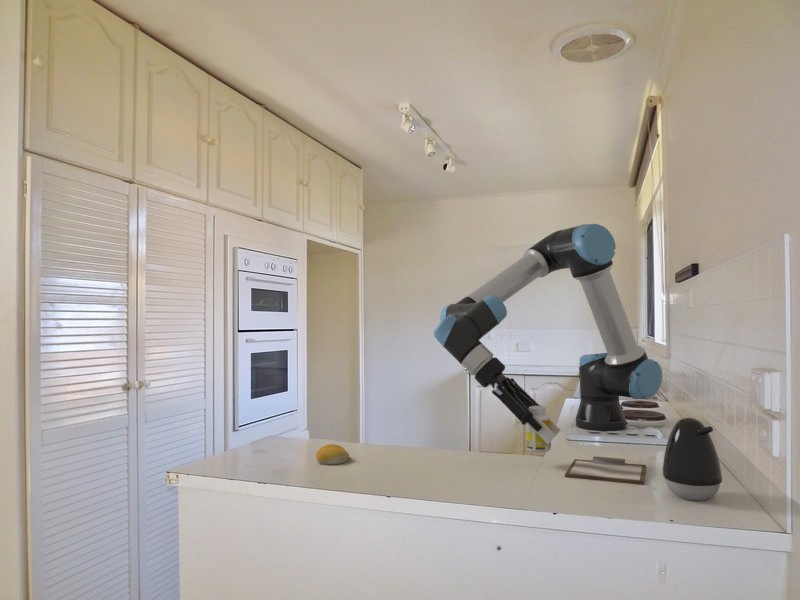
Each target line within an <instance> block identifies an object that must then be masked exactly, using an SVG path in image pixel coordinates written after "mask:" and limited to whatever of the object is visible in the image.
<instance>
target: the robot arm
mask: <svg viewBox="0 0 800 600" xmlns="http://www.w3.org/2000/svg"><path fill="white" fill-rule="evenodd" d="M616 248H617V247H616V241H615V238H614V236H613V235H612V233H611V232H610V231H609V229H607V228H606V227H605V226H603V225H600V224H598V223H589V224H587V223H586V224H585V223H583V224H580V225H577V226H573V227H568V228H564V229H560V230H556V231H554V232H552V233H550V234H549V235H547V236H545V237H543V238H542V239H541V240H539V241H538V242H536V243H535V244H533V245H532V246H531V247H529V248H528V249H526V251H525V250H524V253H523V256H522V257H521V258H519V259H518V260H517V261H515V262H514V263H512V264H511V265H510V266H508V267H506V268H505V269H504V270H502V271H500V272H499V273H498V274H496V275H495V276H494V277H492V278H491V279H489V280H487V281H486V282H485V283H484V284H481V286H479V287H478V288H477V289H475V290H473V291H472V292H471V293H469V294H468V295H466V296H465V297H464V298H462V299H460V300H459V301H457V302H456V303H451V304H448V305H446V306H444V307H443V308H442V309H441V312H440V314H439V317H440V318H439V320H440V321H439V322H438V324H436V327H435V328H434V330H433V336H434V338H435V339H436V341H438V343H439V344H440V345H441V346H442V348H444V349H445V350H446V351H447V352H448V353H449V354H450V355H452V357H453V358H454V359H455V360H456V361H457V362H458V363H459V364H460V365H461V366H462V367H463V371H465V372H468V373H469V374H470V375H471V376H474V380H476V382H477V383H478V384H479V385H480V386H481V387H482V388H488V387H489V386H491V387H492V390H491V394H493V395H494V396H495V397H496V398H497V399H499V401H501V403H502V404H504V406H505V407H506V408H507V409H508V410H509V411H510V412H511V413H512V414H513V415H514V416H515V417H516V418H517V419H518V421H519V422H521V424H522V425H523V426H526V423H527V424H528V425H529V426H530V427H531V428H532V429H533V430H534V431H535V432H536V433H537V434H538V435H539V436H540V437H541V438H542V439H543V440H544V441H545V442H546V443H547V444H548V443H549V442H550V441H551V442H552V440H553V439H554V438H555V437H557V435H558V433H559V432H561V428H559V426H557V424H556V423H554V422H553V421H552V420H551V419H550V429H549V428H548V427H547V426H546V425H545V424H544V423H543V422H542V421H541V420H540V419H539V418H538V417H537V416H536V415H534V416H533V414H532V413H531V412H530V410H529V407H530V406H542V405H540V404H539V403H538V402H536V400H535V399H534V398H533V397H532V396H531V395H530V394H528V393H527V392H526V391H525V389H523V388H522V387H521V386H520V384H518V382H516V380H515V379H514V378H512V377H511V378H510V377H506V376H505V375H504V374H503V373H504V371H505V370H506V366H505V364H503V363H502V361H501V360H500V359H498V357H496V356H494V354H493V352H492V351H491V350H490V349H488V347H487V346H486V345H484V343H483V342H482V341H481V339H482V338H483V337H484V336H486V335H488V333H489V332H491V331H492V330H493V329H494V328H495V327H497V326H499V325H500V323H501V322H502V321H504V319H505V318H507V315H508V311H507V307H506V305H505V304H504V303H505V302H506V301H508V299H510V298H511V297H513V296H514V295H515V294H516V293H518V292H519V291H521V290H522V289H524V288H525V287H527V286H528V285H530V284H531V283H533V282H534V281H535V280H537V279H538V278H545V277H546V276H548V275H549V274H551V273H553V272H555V271H559V270H565V269H569V271H570V274H571V276H572V278H573V279H575V280H576V281H578V282H580V285H581V287H582V289H583V292H584V294H585V297H586V300H587V303H588V306H589V308H590V310H591V314H592V316H593V319H594V321H595V325H596V327H597V329H598V332H599V334H600V337H601V340H602V342H603V343H602V344H603V345H604V348H605V351H606V352H602V353H601V352H600V353H590V354H582V355H581V356H580V358H579V365H578V372H579V373H578V375H579V392H580V396H579V397H580V401H579V406H578V409H577V412H576V416H575V426H576V427H578V428H581V429H586V430H593V431H618V430H624V429H626V428H627V420H626V417H625V414H624V411H623V408H622V406H621V402H620V397H623V398H624V397H625V398H630V399H634V400H649V399H651V398H653V397H654V396H656V395H657V393H658V392H659V390H660V388H661V385H662V383H663V370H662V367H661V365H660V363H659V362H657V361H656V360H655V359H650V358H648V355H647V353H646V349H645V348H644V347H642V346H640V345H638V344H637V341H636V338H635V335H634V333H633V330H632V326H631V325H630V322H629V319H628V316H627V314H626V312H625V308H624V306H623V303H622V301H621V297H620V295H619V293H618V290H617V287H616V284H615V281H614V279H613V275H612V274H611V269H612V267H613V266H614V263H613V258H615V257H614V256H615V254H616V251H615V250H616Z"/></svg>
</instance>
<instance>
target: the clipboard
mask: <svg viewBox="0 0 800 600" xmlns="http://www.w3.org/2000/svg"><path fill="white" fill-rule="evenodd" d="M646 472H647V465H646V464H638V463H637V464H636V463H626V459H625V458H620V457H619V458H618V457H609V456H608V457H607V456H596V455H595V456H593V457H592V459H591V460H589V459H578V458H577V459H576V458H575V459H573V461H572V462H571V464H570V465H569V467H568V468H567V470H566V472H565V473H564V477H565V478H572V479H573V478H575V479H582V480H584V479H585V480H592V481H605V482H613V483H614V482H615V483H624V484H632V485H633V484H634V485H644V484H645V479H646Z"/></svg>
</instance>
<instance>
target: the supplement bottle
mask: <svg viewBox="0 0 800 600" xmlns="http://www.w3.org/2000/svg"><path fill="white" fill-rule="evenodd" d="M529 410H530V412H531V413H532V414H533V416H534V415H536V416H537V417H538V418H539V419H540V420H541V421H542V422H543V423H544V424H545V425H546V426H547V427H548V428H549V429H550V420H551V419H550V418H551V417H550V416H549V414H548V413H547V407H546V406H543V405H541V406H530V407H529ZM525 427H526V428H525V430H526V432H525V433H526V448H527V450H528V451H529V452H532V453H547V452H550V451H551V450H552V440H551V441H550V442H549V443H548V444H547V443H546V442H545V441H544V440H543V439H542V438H541V437H540V436H539V435H538V434H537V433H536V432H535V431H534V430H533V429H532V428H531V427H530V426H529V425H528V424H527V423H526V424H525Z"/></svg>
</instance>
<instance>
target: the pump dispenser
mask: <svg viewBox="0 0 800 600" xmlns="http://www.w3.org/2000/svg"><path fill="white" fill-rule="evenodd" d="M713 431H714V428H713V427H712V426H710V425H709V426H705V425H704V424H703V423H702V422H701V421H700V420H698V419H696V418H692V417H684V418H681V419H680V420H678V421H677V422H676V423H675V425H674V426H673V428H672V430H671V432H670V435H669V436H668V439H667V442H666V443H667V444H666V446H665V451H664V457H663V462H662V463H663V464H662V465H663V466H662V476H663V478H664V480H665V483H666V485H667V487H668V489H669V490H670V491H671V492H672V494H674V495H675V496H677V497H679V498H682V499H684V500H688V501H695V502H696V501H697V502H699V501H702V502H703V501H707V500H710V499H711V498H713V497H714V496H716V494H717V493H718V491H719V489H720V486H721V484H722V482H723V474H722V467H721V463H720V459H719V455H718V453H717V450H716V447H715V444H714V441H713V438H712V437H711V433H712V432H713Z"/></svg>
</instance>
